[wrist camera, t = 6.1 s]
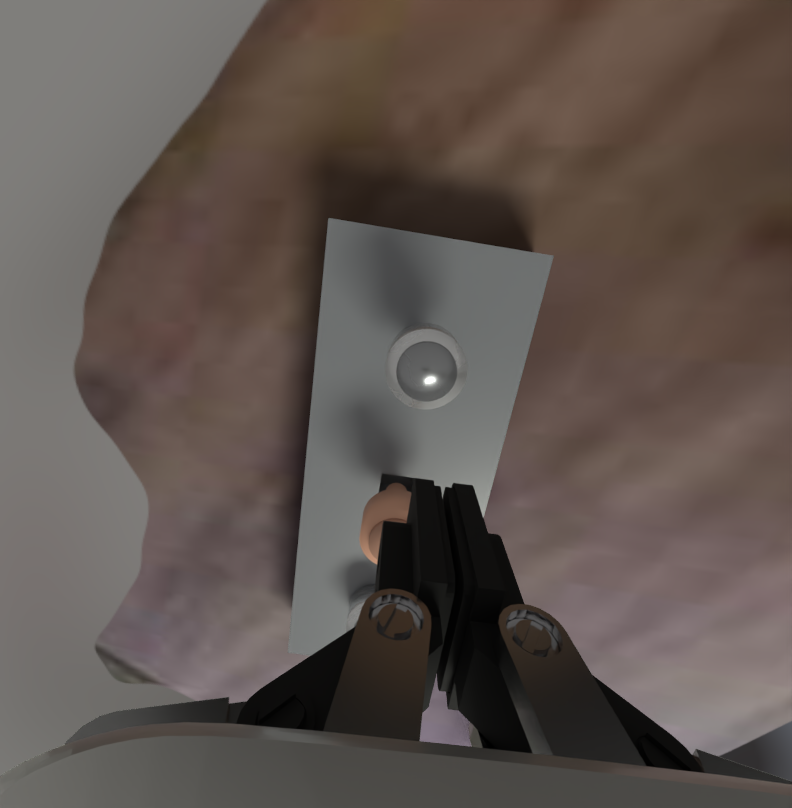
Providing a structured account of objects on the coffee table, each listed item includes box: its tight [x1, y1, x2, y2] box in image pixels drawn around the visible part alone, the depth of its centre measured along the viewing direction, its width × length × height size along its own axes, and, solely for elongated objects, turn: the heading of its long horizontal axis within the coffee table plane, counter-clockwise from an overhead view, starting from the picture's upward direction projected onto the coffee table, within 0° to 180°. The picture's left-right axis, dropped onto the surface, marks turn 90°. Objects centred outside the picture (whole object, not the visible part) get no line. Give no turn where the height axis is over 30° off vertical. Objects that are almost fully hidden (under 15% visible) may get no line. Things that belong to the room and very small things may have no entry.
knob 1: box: [346, 585, 375, 632], centre depth 35 cm, size 4×4×6 cm
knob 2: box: [385, 323, 468, 409], centre depth 24 cm, size 4×4×6 cm
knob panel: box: [288, 218, 554, 656], centre depth 33 cm, size 14×36×4 cm, turn 171°
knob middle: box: [359, 483, 411, 564], centre depth 28 cm, size 4×4×6 cm
